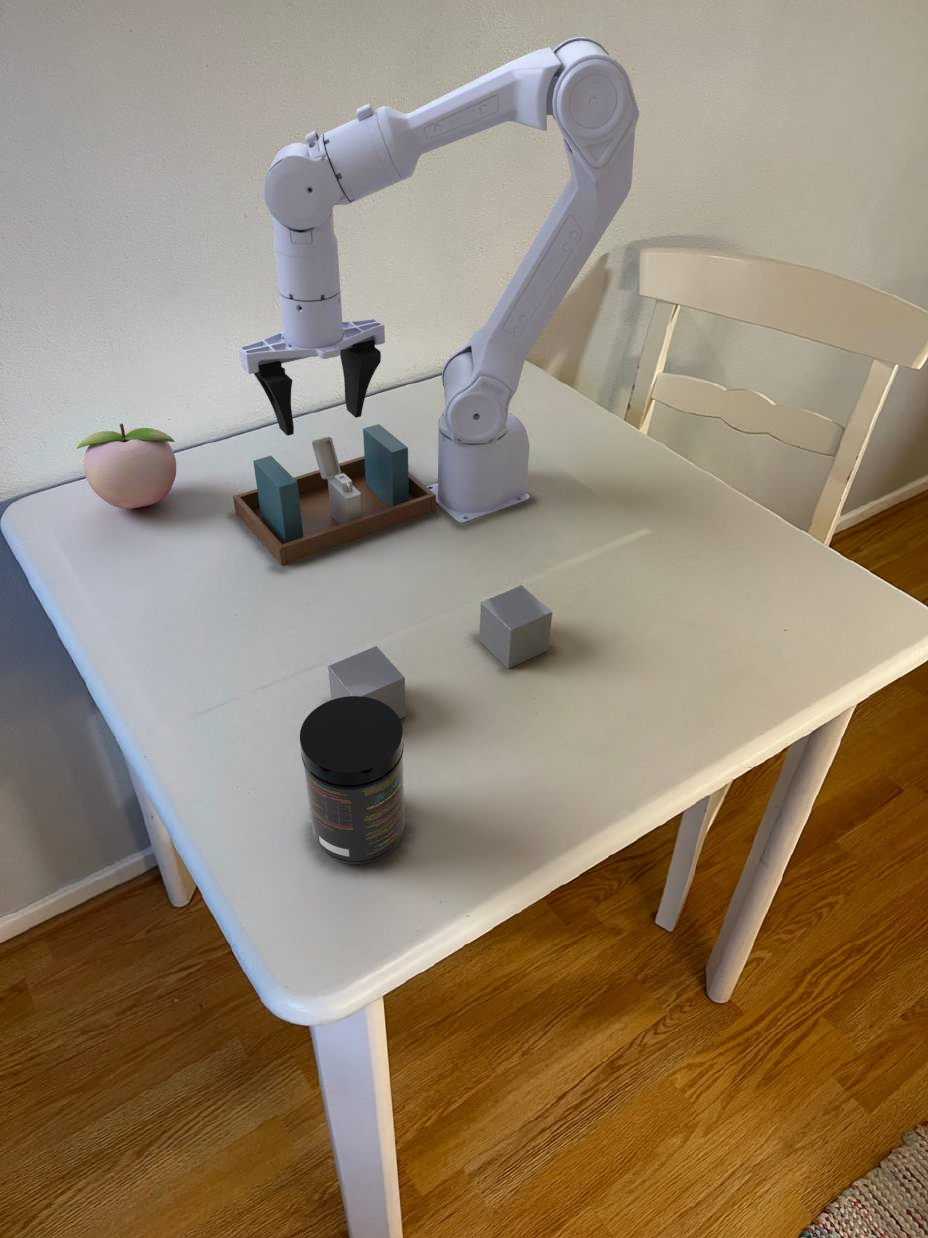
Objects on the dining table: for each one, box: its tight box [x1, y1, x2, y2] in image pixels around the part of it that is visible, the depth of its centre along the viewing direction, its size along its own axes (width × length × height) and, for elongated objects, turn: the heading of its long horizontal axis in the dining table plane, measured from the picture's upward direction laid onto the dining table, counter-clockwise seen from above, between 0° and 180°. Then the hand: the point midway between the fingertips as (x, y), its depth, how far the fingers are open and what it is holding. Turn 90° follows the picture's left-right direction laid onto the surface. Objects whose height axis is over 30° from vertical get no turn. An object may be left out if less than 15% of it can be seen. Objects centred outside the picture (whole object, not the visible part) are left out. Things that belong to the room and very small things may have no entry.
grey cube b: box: [327, 645, 407, 720], centre depth 73 cm, size 4×4×4 cm
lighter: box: [311, 436, 362, 525], centre depth 93 cm, size 7×2×8 cm, turn 35°
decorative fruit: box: [76, 423, 177, 510], centre depth 93 cm, size 9×8×10 cm
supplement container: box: [299, 696, 406, 865], centre depth 62 cm, size 7×7×10 cm
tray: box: [232, 455, 437, 567], centre depth 95 cm, size 18×11×2 cm, turn 124°
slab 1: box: [253, 455, 303, 544], centre depth 91 cm, size 2×6×7 cm, turn 34°
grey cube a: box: [478, 585, 553, 669], centre depth 80 cm, size 4×4×4 cm
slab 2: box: [362, 423, 409, 507], centre depth 96 cm, size 2×6×7 cm, turn 34°
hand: (320, 421), depth 93 cm, fingers open, 7 cm apart
